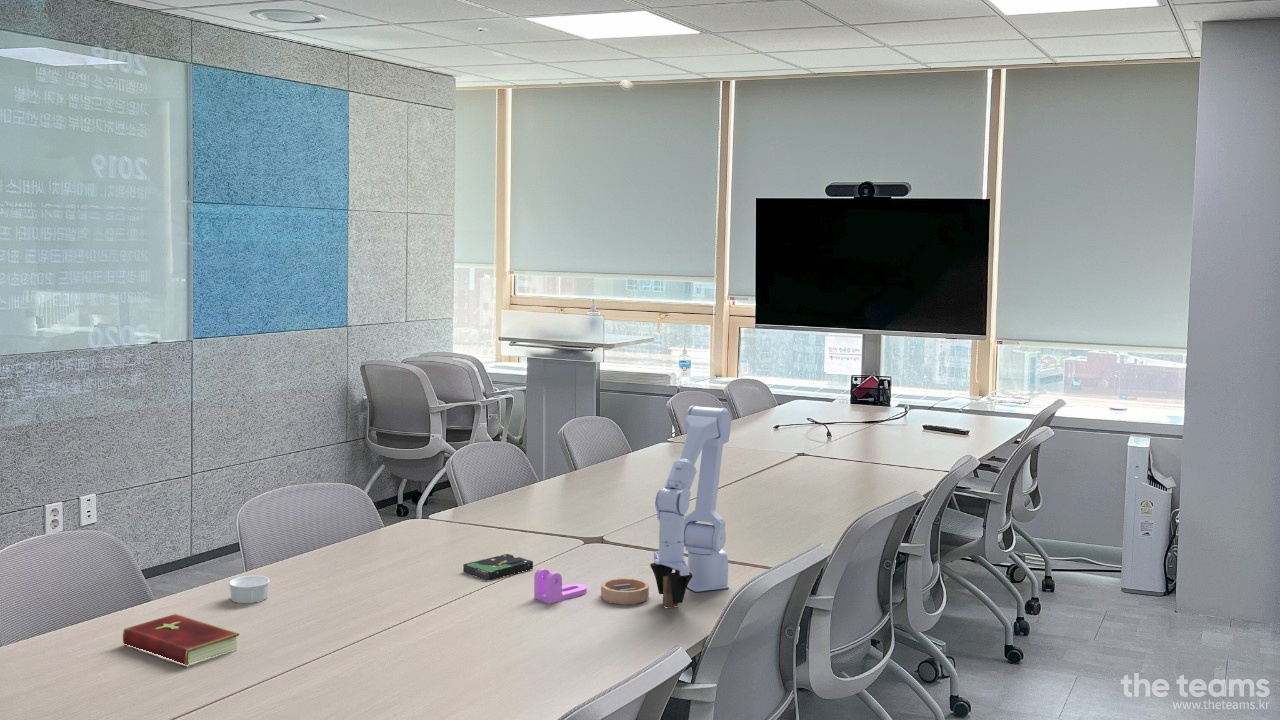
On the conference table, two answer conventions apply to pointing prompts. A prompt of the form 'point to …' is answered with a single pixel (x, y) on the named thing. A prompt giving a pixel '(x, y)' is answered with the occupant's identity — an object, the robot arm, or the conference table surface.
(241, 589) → the ramekin
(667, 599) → the long tan beam
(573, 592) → the bracket
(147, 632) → the hardcover book
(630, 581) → the round tan tray
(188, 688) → the conference table surface
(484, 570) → the disk drive
